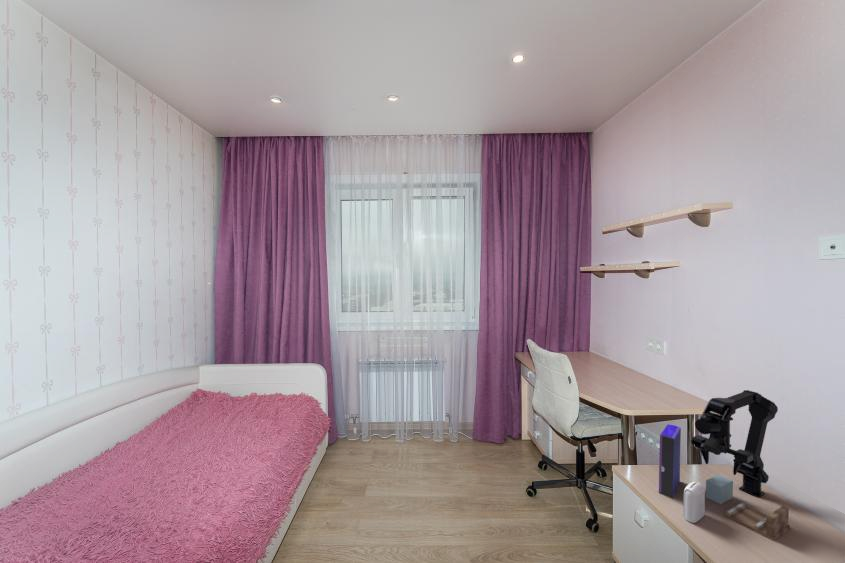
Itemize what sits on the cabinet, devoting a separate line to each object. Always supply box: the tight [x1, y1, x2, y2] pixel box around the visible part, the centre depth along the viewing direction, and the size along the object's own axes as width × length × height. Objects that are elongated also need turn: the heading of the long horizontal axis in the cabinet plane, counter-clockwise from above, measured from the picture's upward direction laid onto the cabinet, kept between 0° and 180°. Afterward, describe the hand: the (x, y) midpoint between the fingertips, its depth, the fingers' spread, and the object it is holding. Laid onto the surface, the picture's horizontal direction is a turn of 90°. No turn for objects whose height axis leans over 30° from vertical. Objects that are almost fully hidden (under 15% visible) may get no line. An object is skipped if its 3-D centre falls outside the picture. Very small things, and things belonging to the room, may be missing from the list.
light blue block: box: [705, 474, 734, 505], centre depth 142 cm, size 10×5×7 cm, turn 117°
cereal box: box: [658, 424, 682, 499], centre depth 148 cm, size 17×5×24 cm, turn 136°
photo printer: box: [682, 481, 706, 524], centre depth 129 cm, size 10×4×12 cm, turn 123°
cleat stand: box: [722, 501, 791, 541], centre depth 127 cm, size 14×14×7 cm
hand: (720, 469), depth 141 cm, fingers open, 9 cm apart
